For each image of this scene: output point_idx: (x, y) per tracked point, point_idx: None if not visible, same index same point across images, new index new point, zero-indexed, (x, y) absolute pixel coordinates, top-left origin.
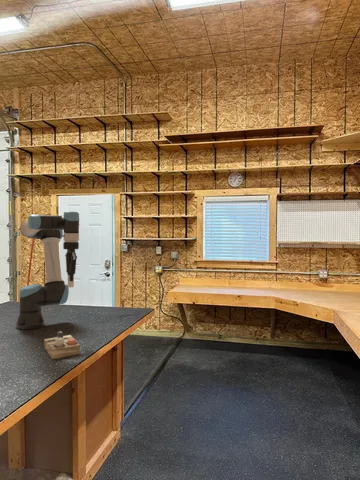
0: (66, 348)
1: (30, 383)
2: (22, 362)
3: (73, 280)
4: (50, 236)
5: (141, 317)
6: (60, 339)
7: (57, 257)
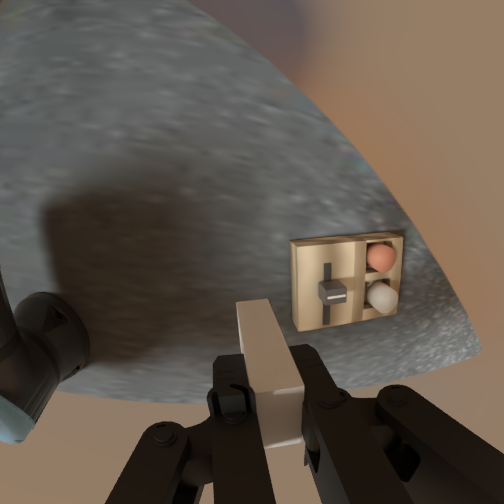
0: (398, 275)
1: (446, 336)
2: (359, 361)
3: (283, 337)
4: None
5: None
6: (392, 298)
7: None
